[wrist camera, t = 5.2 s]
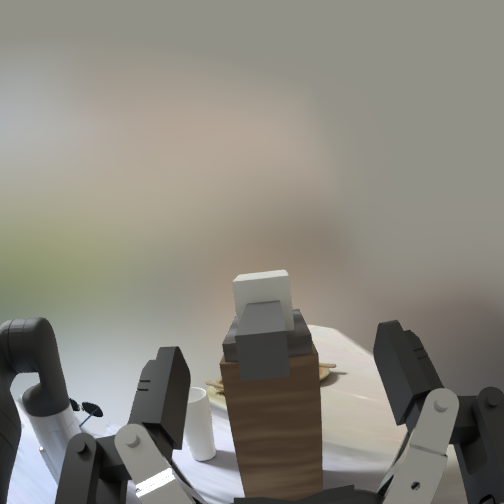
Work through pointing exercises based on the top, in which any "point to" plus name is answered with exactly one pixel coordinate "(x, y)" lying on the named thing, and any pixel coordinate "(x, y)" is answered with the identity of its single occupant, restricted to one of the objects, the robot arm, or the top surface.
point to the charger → (263, 324)
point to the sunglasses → (87, 409)
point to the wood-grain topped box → (277, 420)
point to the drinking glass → (199, 426)
